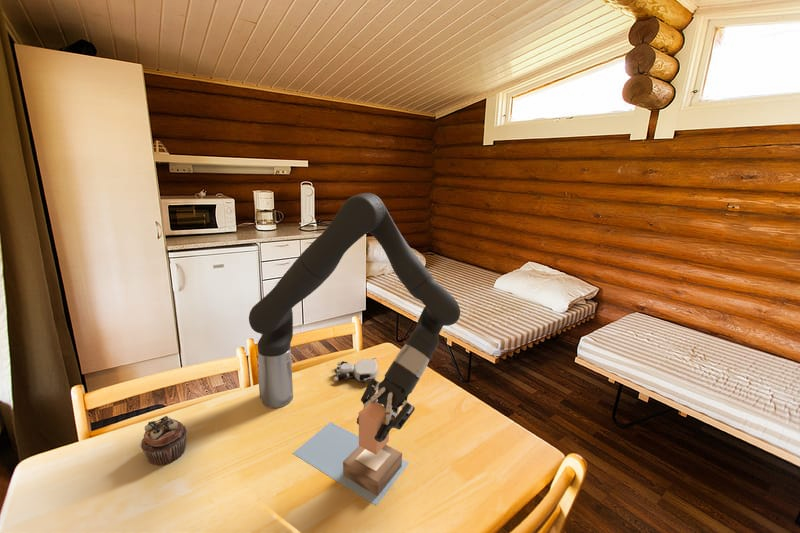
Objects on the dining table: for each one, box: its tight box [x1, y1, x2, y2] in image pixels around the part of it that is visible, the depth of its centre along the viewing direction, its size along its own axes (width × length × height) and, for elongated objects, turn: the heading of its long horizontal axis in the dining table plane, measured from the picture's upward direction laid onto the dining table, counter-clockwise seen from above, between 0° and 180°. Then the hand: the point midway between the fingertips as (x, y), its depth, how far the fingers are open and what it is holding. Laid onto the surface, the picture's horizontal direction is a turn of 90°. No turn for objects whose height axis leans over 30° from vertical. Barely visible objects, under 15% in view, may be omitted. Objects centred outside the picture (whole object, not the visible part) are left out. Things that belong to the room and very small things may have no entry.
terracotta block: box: [358, 402, 390, 455], centre depth 83 cm, size 5×5×9 cm
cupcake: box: [140, 415, 188, 467], centre depth 89 cm, size 10×10×10 cm
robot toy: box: [333, 357, 379, 382], centre depth 126 cm, size 12×4×15 cm
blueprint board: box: [292, 421, 410, 506], centre depth 90 cm, size 26×14×1 cm, turn 58°
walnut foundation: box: [343, 444, 403, 496], centre depth 86 cm, size 10×10×4 cm
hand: (368, 432), depth 82 cm, fingers closed on terracotta block, 6 cm apart
